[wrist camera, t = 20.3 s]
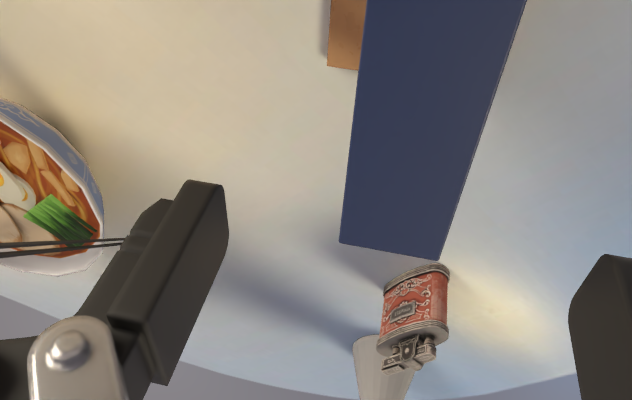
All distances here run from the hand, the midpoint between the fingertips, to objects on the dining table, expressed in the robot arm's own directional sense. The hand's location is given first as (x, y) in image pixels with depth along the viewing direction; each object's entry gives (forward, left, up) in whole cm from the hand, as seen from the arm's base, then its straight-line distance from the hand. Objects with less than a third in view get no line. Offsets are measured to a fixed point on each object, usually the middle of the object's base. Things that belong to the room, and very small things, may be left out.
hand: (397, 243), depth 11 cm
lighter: (-22, +28, -27) cm, 44 cm away
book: (-4, +6, -16) cm, 17 cm away
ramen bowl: (+18, +40, -27) cm, 51 cm away
